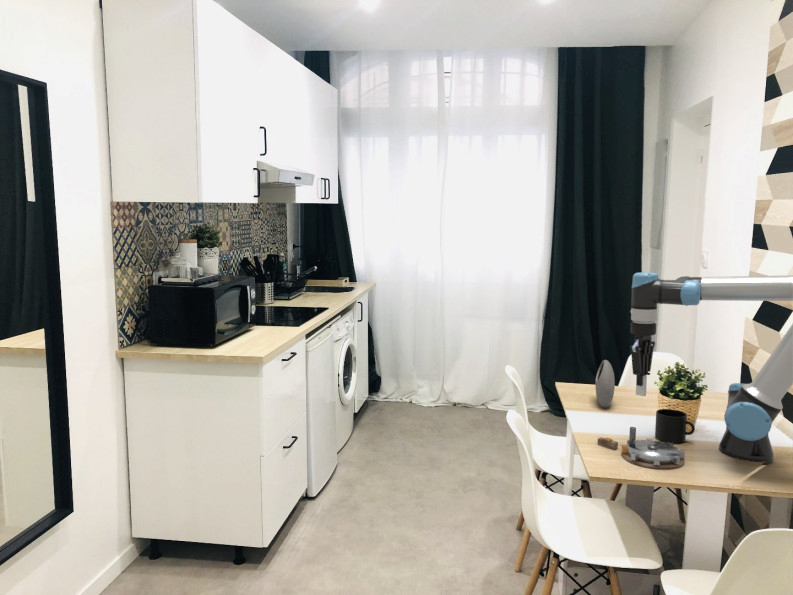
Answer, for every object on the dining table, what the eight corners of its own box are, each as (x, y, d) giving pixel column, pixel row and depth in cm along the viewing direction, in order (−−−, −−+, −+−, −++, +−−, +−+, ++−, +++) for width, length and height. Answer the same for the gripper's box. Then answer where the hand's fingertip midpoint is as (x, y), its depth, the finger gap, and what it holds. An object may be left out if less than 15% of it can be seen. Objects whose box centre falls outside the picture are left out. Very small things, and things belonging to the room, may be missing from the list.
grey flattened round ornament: (593, 400, 257) (595, 355, 255) (611, 401, 255) (613, 356, 253) (595, 413, 239) (597, 365, 237) (615, 414, 237) (617, 366, 235)
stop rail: (617, 449, 201) (618, 440, 200) (614, 450, 200) (614, 442, 199) (600, 444, 205) (601, 435, 205) (597, 445, 204) (597, 437, 204)
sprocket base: (694, 459, 192) (694, 456, 192) (667, 474, 181) (667, 472, 181) (639, 444, 206) (639, 441, 206) (610, 457, 194) (610, 454, 194)
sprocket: (678, 447, 199) (679, 422, 198) (689, 468, 182) (690, 441, 181) (619, 442, 204) (620, 418, 203) (624, 462, 187) (625, 436, 186)
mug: (691, 447, 203) (693, 420, 202) (652, 440, 209) (653, 414, 208) (695, 439, 211) (697, 412, 210) (657, 432, 217) (658, 407, 216)
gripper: (641, 318, 204) (638, 389, 207) (622, 322, 195) (620, 396, 198) (664, 320, 199) (661, 393, 201) (646, 325, 190) (643, 401, 192)
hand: (640, 394), depth 200 cm, fingers closed
